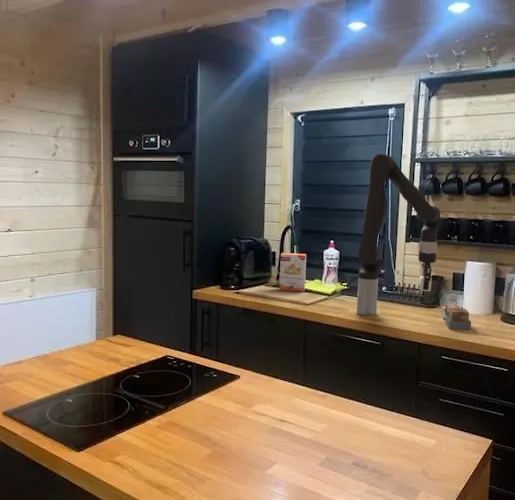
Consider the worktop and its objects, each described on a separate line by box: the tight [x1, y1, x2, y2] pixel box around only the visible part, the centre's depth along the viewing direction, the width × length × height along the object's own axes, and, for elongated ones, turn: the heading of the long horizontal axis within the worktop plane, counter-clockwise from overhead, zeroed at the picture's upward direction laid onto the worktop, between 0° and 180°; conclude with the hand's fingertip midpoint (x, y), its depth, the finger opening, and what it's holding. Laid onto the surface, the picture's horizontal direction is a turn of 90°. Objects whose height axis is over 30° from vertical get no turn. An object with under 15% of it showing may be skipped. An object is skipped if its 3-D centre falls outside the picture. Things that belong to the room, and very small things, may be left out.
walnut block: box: [449, 307, 470, 322], centre depth 244 cm, size 7×7×4 cm
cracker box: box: [279, 252, 307, 293], centre depth 311 cm, size 14×6×21 cm, turn 80°
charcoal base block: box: [445, 316, 472, 331], centre depth 245 cm, size 9×9×4 cm
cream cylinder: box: [418, 275, 433, 292], centre depth 249 cm, size 5×5×6 cm
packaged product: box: [441, 302, 461, 321], centre depth 263 cm, size 18×5×10 cm
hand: (424, 288), depth 250 cm, fingers closed on cream cylinder, 5 cm apart
